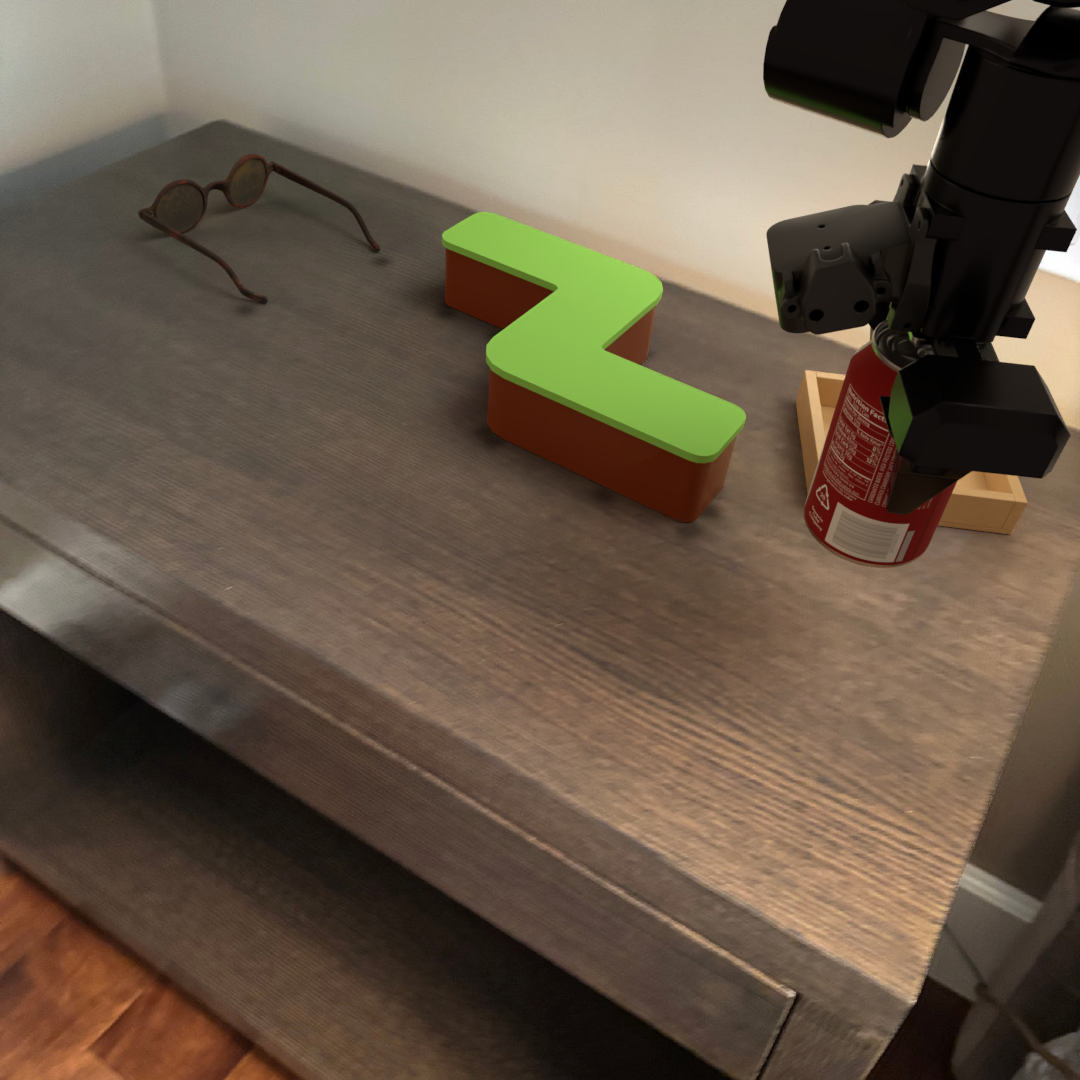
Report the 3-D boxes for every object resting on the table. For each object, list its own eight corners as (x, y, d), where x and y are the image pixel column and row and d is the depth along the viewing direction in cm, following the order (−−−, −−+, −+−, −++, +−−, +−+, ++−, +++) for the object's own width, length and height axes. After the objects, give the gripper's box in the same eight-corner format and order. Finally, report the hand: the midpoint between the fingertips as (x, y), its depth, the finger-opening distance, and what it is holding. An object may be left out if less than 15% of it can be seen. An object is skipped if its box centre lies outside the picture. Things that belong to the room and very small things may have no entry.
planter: (340, 365, 77) (335, 296, 73) (480, 272, 89) (482, 208, 85) (692, 531, 67) (709, 461, 63) (799, 401, 78) (819, 335, 74)
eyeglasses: (276, 193, 97) (270, 140, 94) (388, 248, 91) (386, 195, 87) (144, 245, 88) (132, 189, 85) (258, 310, 82) (250, 253, 79)
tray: (973, 422, 78) (987, 391, 76) (1010, 534, 69) (1028, 502, 67) (795, 401, 78) (804, 369, 76) (809, 509, 69) (820, 477, 67)
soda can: (897, 596, 53) (979, 408, 44) (779, 538, 55) (835, 350, 47) (944, 526, 57) (1027, 342, 48) (832, 475, 59) (892, 292, 51)
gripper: (784, 71, 49) (721, 349, 60) (831, 261, 35) (738, 577, 46) (1018, 95, 49) (912, 370, 59) (1155, 296, 35) (986, 605, 46)
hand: (885, 466), depth 53 cm, fingers closed on soda can, 7 cm apart
